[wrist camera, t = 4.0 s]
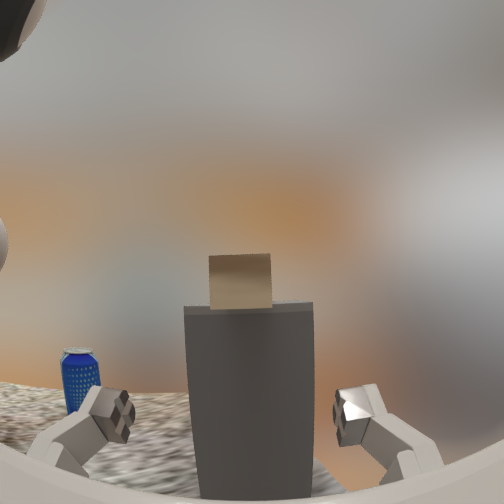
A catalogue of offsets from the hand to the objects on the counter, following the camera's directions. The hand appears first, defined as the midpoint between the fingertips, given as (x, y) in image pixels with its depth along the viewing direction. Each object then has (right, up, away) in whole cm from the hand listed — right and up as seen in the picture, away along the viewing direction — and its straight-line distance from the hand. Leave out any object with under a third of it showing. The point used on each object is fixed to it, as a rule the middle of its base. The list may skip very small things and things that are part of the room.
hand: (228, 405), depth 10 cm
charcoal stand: (+2, -26, +21) cm, 33 cm away
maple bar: (+1, 0, +21) cm, 21 cm away
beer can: (-34, -30, +39) cm, 60 cm away
